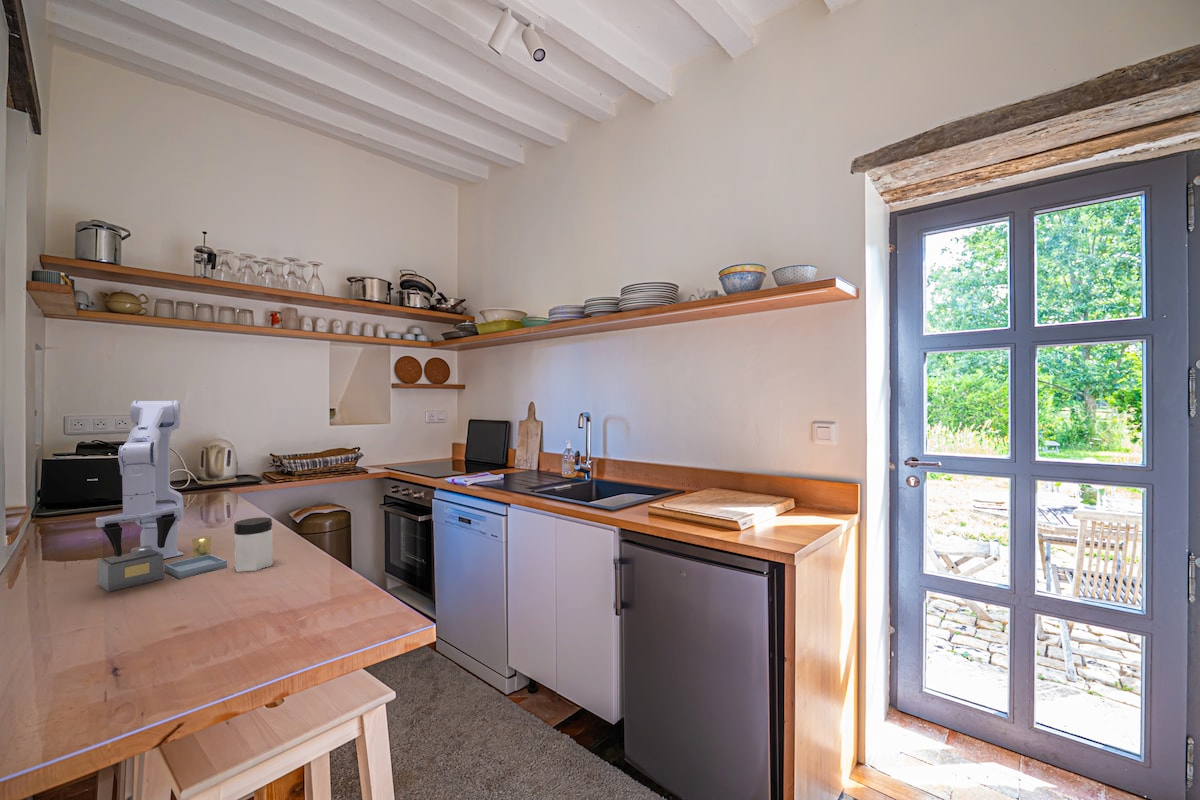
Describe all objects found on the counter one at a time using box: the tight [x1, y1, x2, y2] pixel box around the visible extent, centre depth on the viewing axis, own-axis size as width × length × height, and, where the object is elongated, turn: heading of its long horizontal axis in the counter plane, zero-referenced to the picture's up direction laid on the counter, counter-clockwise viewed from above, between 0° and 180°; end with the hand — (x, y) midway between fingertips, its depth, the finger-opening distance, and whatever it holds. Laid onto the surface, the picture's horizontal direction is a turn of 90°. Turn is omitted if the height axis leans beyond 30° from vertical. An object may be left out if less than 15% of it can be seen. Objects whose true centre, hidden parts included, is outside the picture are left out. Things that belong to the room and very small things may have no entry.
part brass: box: [191, 535, 212, 558], centre depth 139 cm, size 4×4×6 cm
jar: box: [233, 516, 274, 573], centre depth 133 cm, size 9×8×12 cm
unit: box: [97, 549, 165, 593], centre depth 122 cm, size 9×10×6 cm
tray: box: [164, 553, 228, 580], centre depth 131 cm, size 10×10×2 cm
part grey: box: [130, 546, 152, 553], centre depth 130 cm, size 4×4×6 cm
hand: (140, 551), depth 119 cm, fingers open, 7 cm apart
